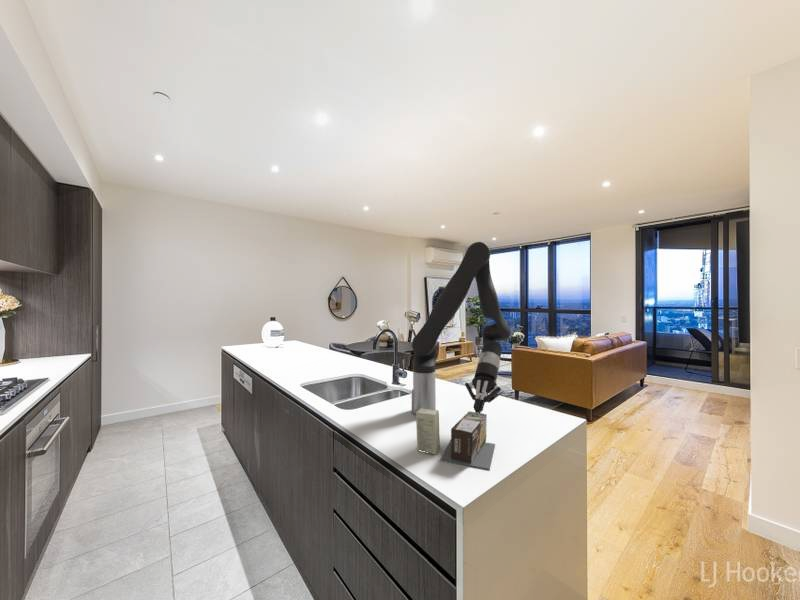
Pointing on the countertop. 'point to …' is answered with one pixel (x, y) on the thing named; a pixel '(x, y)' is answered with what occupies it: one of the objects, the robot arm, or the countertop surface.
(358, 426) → the countertop surface
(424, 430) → the skincare box
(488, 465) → the mat
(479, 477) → the countertop surface
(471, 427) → the coffee box
